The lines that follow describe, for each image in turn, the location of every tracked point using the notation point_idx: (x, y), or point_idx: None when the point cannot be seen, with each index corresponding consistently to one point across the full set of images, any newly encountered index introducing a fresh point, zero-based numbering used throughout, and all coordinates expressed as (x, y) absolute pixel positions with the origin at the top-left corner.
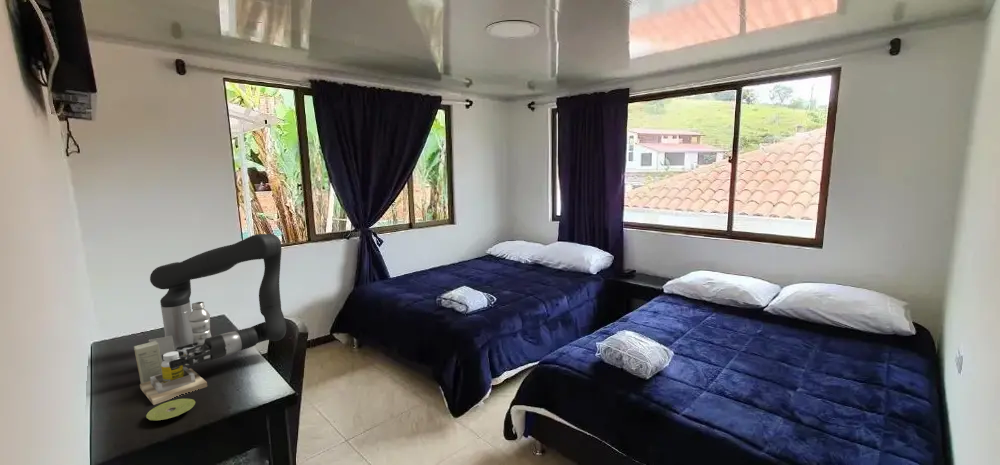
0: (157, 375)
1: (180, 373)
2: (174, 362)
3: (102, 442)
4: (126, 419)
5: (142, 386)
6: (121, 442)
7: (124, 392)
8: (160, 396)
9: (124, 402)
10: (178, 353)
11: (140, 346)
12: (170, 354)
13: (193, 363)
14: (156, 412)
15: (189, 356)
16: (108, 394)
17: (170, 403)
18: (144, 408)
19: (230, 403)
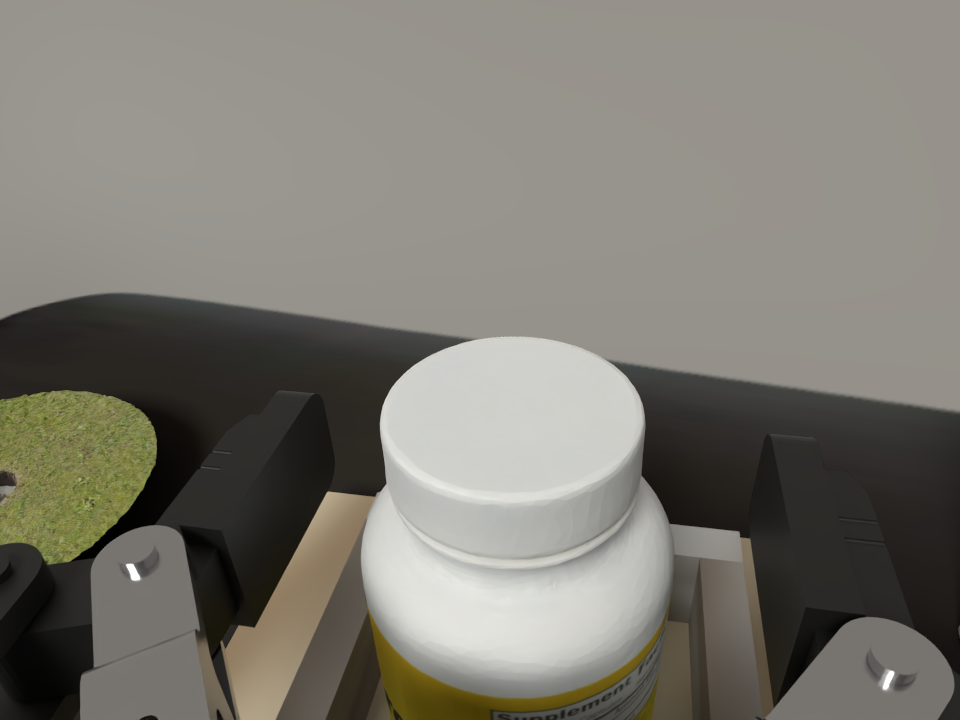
0: (722, 587)
1: (389, 709)
2: (243, 434)
3: (198, 312)
4: None
5: (742, 543)
6: (93, 338)
7: None
8: (318, 541)
9: None
10: (438, 506)
11: None
12: (470, 392)
13: (5, 689)
14: (74, 433)
15: (94, 601)
16: (892, 441)
17: (63, 516)
18: (341, 480)
19: None
